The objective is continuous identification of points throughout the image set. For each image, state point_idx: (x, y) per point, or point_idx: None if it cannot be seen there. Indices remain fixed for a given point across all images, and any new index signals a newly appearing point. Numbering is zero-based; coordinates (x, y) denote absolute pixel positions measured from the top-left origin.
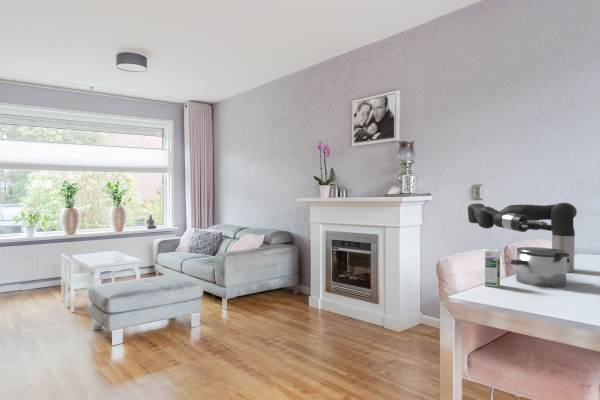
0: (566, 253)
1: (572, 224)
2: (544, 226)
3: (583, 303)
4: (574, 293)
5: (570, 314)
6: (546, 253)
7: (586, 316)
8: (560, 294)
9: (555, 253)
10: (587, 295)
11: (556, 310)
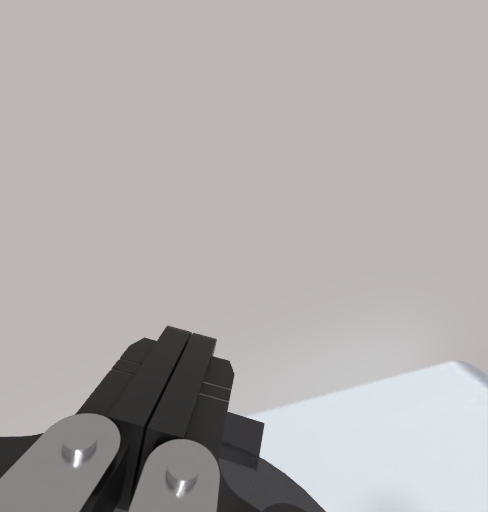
0: None
1: None
2: (225, 419)
3: (356, 409)
4: None
5: (462, 396)
6: (318, 509)
7: (435, 377)
8: (332, 494)
9: (263, 461)
10: None
11: (479, 422)
